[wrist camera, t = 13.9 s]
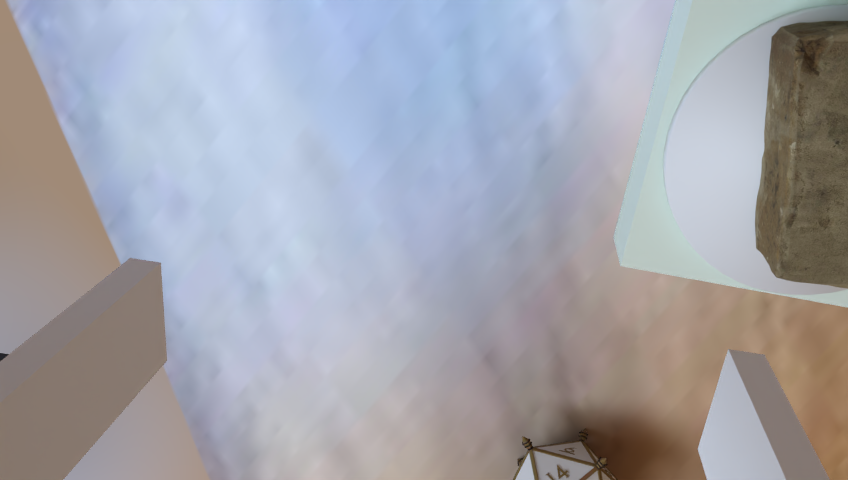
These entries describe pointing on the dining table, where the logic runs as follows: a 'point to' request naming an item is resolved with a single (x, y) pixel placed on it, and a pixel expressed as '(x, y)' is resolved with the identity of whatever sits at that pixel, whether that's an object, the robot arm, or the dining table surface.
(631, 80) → the dining table surface
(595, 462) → the game die
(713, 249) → the scale
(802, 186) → the stone block
